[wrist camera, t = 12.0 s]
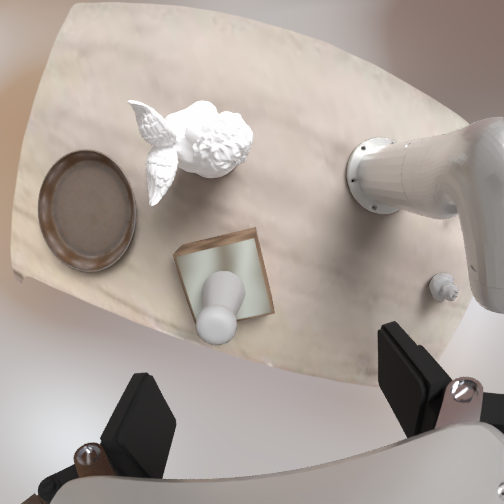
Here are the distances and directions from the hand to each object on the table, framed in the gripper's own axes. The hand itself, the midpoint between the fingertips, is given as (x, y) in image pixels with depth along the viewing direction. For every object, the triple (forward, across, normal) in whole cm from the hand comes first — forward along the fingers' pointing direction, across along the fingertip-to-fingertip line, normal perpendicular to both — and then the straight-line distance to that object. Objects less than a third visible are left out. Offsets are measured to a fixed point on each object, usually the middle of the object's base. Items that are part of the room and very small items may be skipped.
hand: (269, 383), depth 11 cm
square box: (+36, +6, +6) cm, 37 cm away
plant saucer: (+37, +27, -10) cm, 47 cm away
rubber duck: (+37, -32, +18) cm, 52 cm away
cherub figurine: (+36, +5, -12) cm, 39 cm away
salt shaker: (+30, +6, +6) cm, 31 cm away
